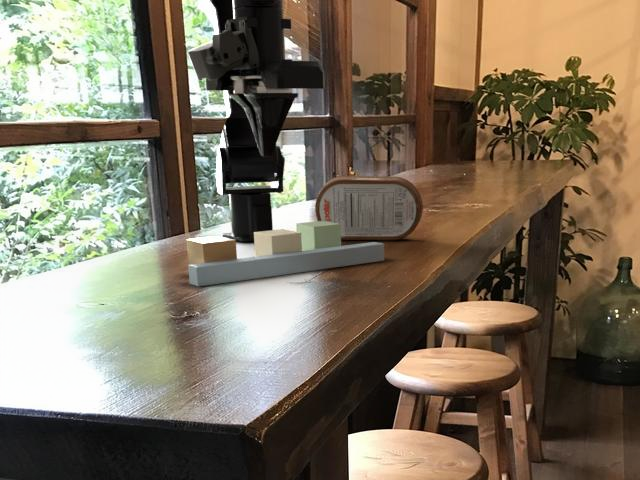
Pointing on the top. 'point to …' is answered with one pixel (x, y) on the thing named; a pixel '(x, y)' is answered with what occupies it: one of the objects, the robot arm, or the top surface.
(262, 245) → the cream block
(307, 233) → the sage block
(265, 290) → the top surface
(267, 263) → the straightedge
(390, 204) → the tin
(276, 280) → the top surface
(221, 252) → the maple block
